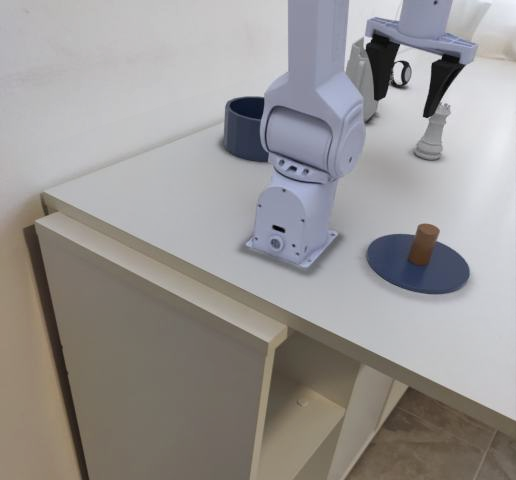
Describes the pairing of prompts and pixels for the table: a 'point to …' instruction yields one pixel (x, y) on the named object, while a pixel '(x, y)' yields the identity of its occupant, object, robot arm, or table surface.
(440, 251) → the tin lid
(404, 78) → the smartwatch
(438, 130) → the rook chess piece
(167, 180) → the table surface
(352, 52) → the cable organizer
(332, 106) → the robot arm
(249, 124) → the tin
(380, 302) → the table surface
